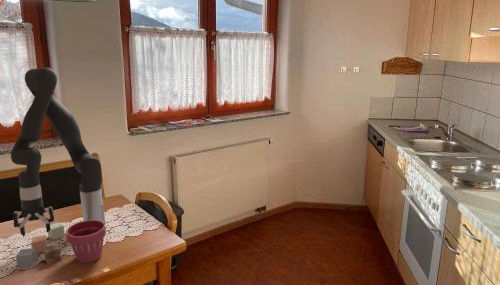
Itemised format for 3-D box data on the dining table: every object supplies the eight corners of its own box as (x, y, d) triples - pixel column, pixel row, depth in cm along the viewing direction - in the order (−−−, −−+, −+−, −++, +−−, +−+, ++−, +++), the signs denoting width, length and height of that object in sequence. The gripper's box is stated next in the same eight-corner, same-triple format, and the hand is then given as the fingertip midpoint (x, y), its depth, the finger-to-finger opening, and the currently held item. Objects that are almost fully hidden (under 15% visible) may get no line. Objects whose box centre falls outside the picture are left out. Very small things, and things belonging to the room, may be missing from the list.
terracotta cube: (47, 245, 166) (45, 234, 165) (46, 251, 162) (45, 240, 160) (33, 248, 164) (32, 237, 163) (33, 253, 160) (31, 242, 158)
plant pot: (86, 270, 147) (82, 239, 144) (61, 260, 154) (57, 231, 151) (115, 253, 159) (112, 224, 156) (92, 244, 166) (88, 216, 163)
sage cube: (59, 232, 177) (58, 222, 176) (65, 235, 174) (63, 225, 173) (48, 236, 174) (46, 226, 172) (53, 240, 171) (52, 229, 169)
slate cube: (36, 259, 155) (34, 248, 154) (32, 266, 150) (30, 255, 149) (22, 261, 154) (21, 249, 153) (17, 268, 150) (15, 256, 148)
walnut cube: (59, 255, 158) (57, 243, 157) (61, 260, 154) (59, 249, 153) (45, 259, 156) (43, 247, 154) (47, 264, 152) (45, 253, 150)
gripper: (51, 190, 163) (55, 226, 167) (11, 195, 158) (17, 232, 161) (50, 196, 156) (55, 234, 160) (9, 202, 151) (14, 240, 155)
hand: (36, 233), depth 161 cm, fingers open, 8 cm apart
